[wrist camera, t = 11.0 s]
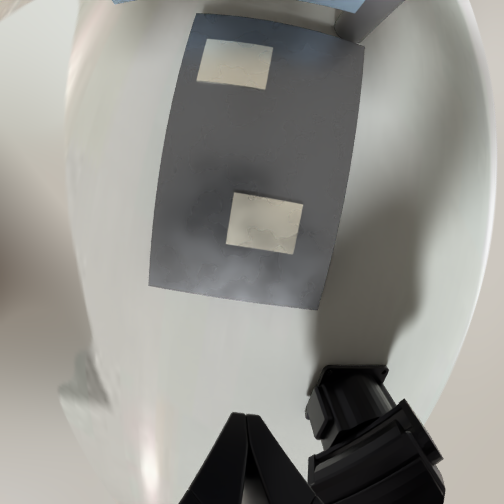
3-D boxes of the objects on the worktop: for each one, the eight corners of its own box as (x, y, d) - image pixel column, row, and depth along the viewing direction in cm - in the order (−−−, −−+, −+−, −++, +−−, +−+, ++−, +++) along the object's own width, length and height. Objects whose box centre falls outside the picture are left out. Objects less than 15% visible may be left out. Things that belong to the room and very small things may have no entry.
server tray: (353, 56, 16) (365, 45, 13) (310, 298, 20) (318, 311, 18) (200, 26, 15) (196, 11, 13) (156, 275, 19) (147, 286, 17)
